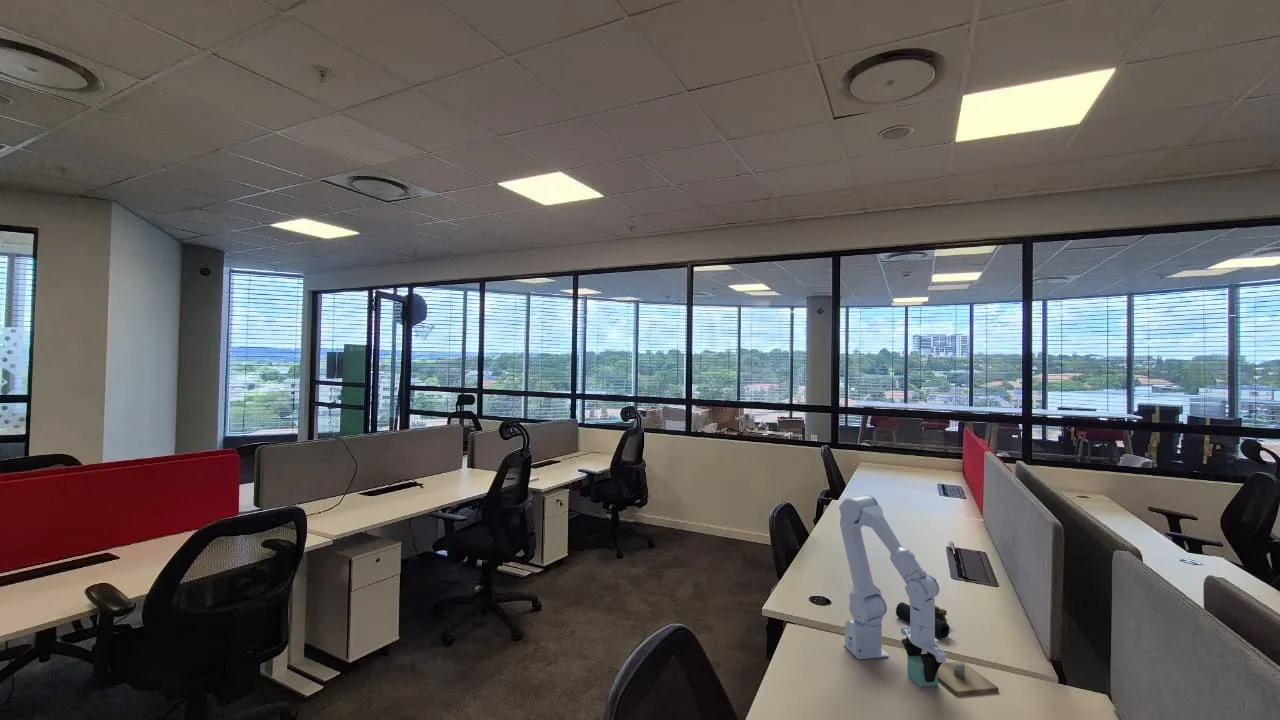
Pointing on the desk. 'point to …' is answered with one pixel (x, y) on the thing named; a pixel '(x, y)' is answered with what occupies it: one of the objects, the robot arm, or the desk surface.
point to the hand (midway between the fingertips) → (922, 674)
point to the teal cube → (918, 671)
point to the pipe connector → (940, 620)
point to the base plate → (963, 679)
